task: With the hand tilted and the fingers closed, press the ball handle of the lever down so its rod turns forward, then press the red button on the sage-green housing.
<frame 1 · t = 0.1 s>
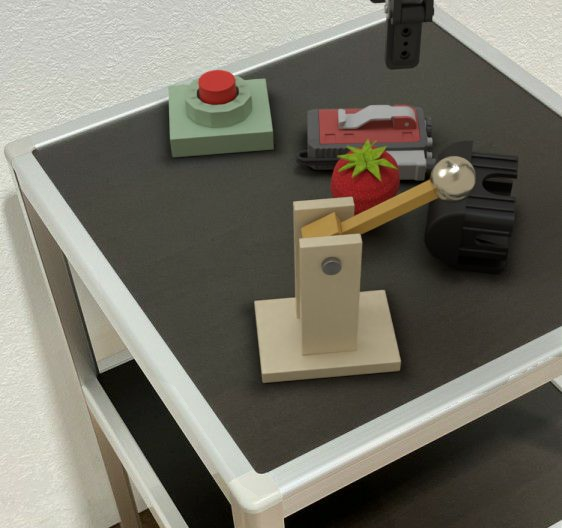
hand: (392, 31, 67), 23 cm above the table, tool pointing down, fingers open, 8 cm apart
bracket: (325, 339, 79), on the table
strawberry: (362, 230, 88), on the table
button: (217, 87, 95), point 4 cm above the table, slide at 0.1 cm
walkie-talkie: (398, 157, 94), on the table
lever: (389, 209, 69), point 13 cm above the table, hinge at 28.0°
button box: (220, 126, 98), on the table
end cap: (465, 237, 87), on the table
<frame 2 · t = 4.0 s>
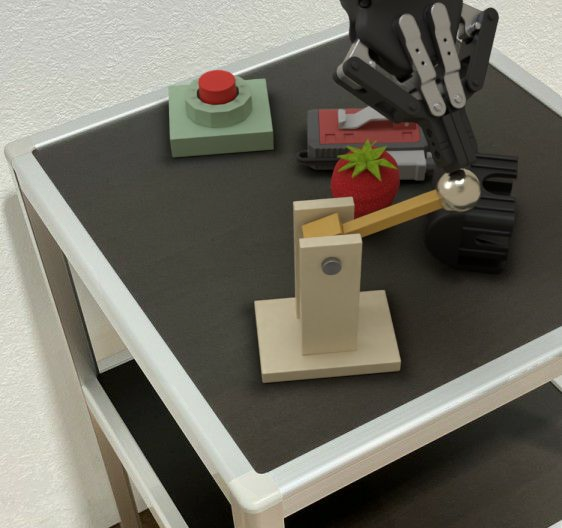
hand: (461, 167, 67), 17 cm above the table, tool tilted 45°, fingers closed
lever: (392, 215, 70), point 13 cm above the table, hinge at 21.0°, touching gripper
everything else where it was.
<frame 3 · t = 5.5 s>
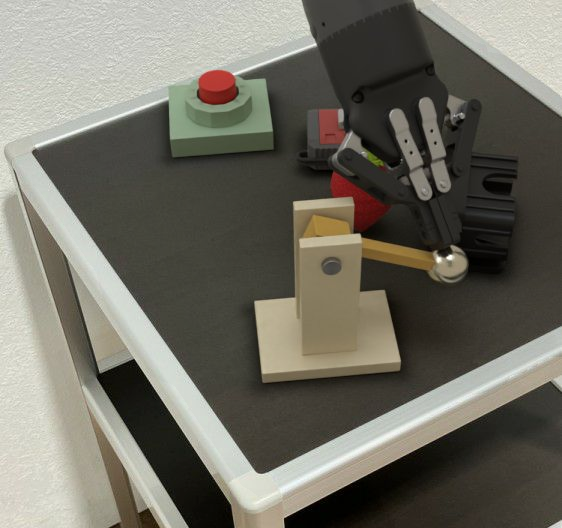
hand: (446, 246, 72), 9 cm above the table, tool tilted 45°, fingers closed
lever: (389, 253, 72), point 9 cm above the table, hinge at -21.2°, touching gripper
everything else where it was.
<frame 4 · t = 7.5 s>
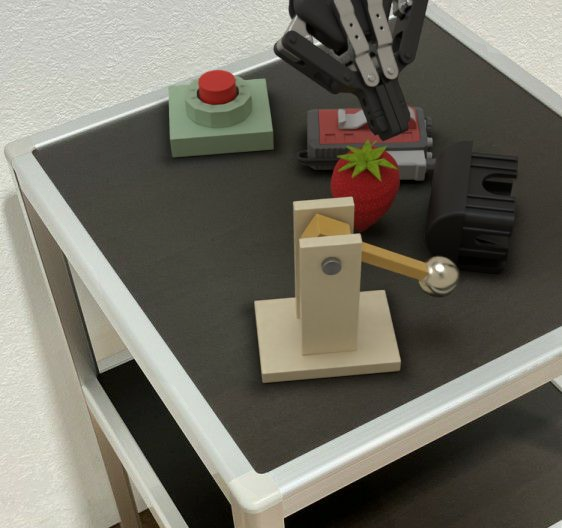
hand: (395, 135, 72), 15 cm above the table, tool tilted 45°, fingers closed
lever: (385, 259, 73), point 9 cm above the table, hinge at -28.7°
everything else where it was.
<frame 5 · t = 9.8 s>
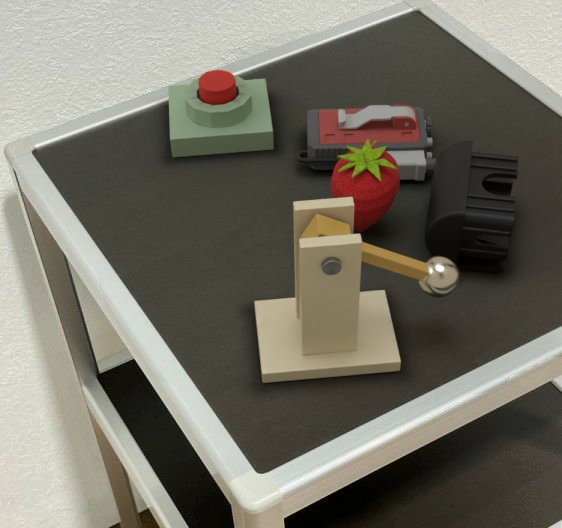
nothing on the table moved.
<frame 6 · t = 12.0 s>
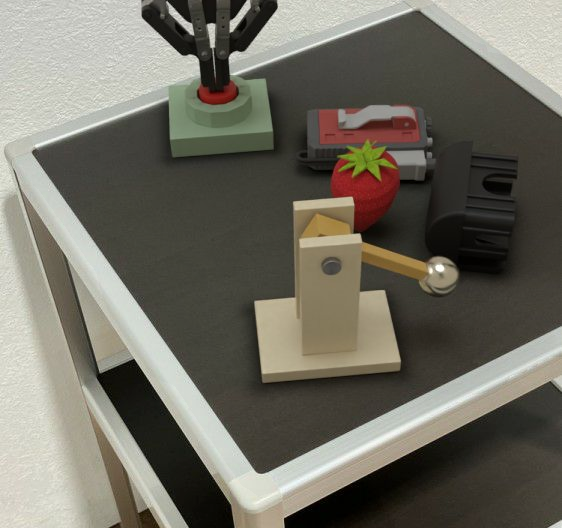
hand: (216, 87, 94), 5 cm above the table, tool pointing down, fingers closed
button: (218, 94, 95), point 4 cm above the table, slide at -0.7 cm, touching gripper
everything else where it was.
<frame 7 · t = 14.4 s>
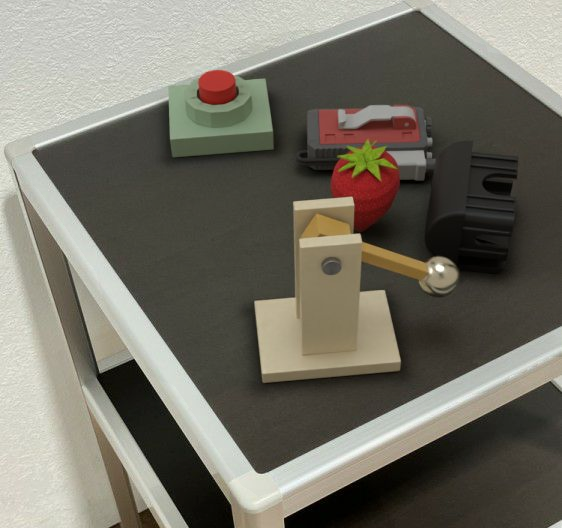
button: (217, 87, 95), point 4 cm above the table, slide at 0.1 cm
everything else where it was.
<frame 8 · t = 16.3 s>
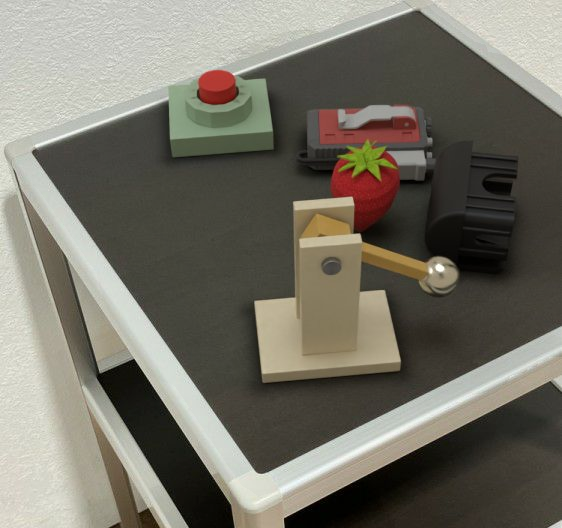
nothing on the table moved.
at the end: lever at -29° (first picture: +28°); button pushed in 1.1 cm at the most during the clip, back to where it started at the end; button slide at 0.1 cm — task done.
